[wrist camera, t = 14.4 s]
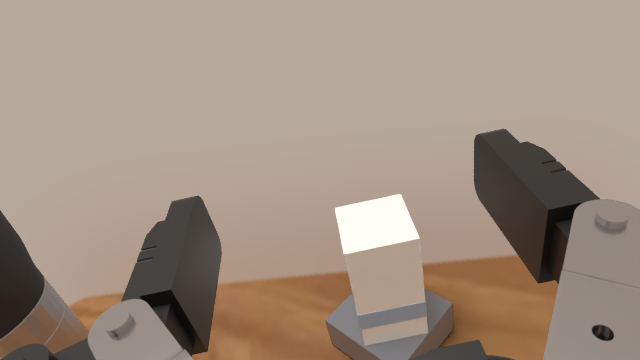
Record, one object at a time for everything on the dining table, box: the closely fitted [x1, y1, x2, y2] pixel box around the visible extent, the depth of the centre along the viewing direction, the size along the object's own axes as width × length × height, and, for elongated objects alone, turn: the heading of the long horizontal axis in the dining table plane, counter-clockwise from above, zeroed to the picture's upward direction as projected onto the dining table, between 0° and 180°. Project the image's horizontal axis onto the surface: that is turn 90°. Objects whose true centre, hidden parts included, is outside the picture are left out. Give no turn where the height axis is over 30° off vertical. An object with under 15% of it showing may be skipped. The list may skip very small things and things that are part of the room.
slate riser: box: [325, 289, 453, 360], centre depth 43 cm, size 9×9×4 cm
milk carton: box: [335, 194, 428, 346], centre depth 38 cm, size 6×6×12 cm
